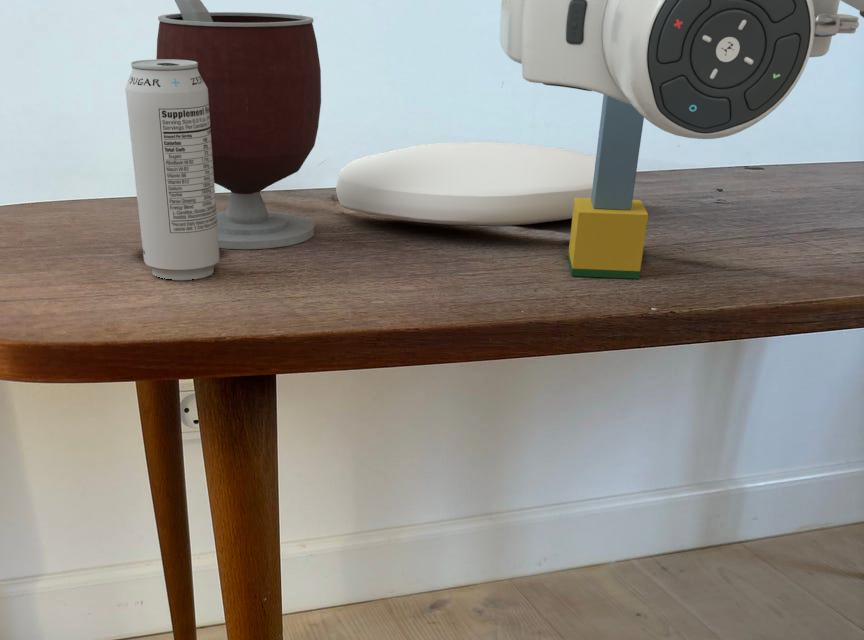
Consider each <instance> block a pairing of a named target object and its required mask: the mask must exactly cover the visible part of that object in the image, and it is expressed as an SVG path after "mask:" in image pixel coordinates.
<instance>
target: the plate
mask: <svg viewBox="0 0 864 640" xmlns="http://www.w3.org/2000/svg"><path fill="white" fill-rule="evenodd" d="M595 162H596V155H592V154H588V153H584V152H579V151H575V150H574V151H573V150H569V149H565V148H560V147H552V146H544V145H535V144H528V143H516V142H500V141H499V142H497V141H471V142H469V141H468V142H460V141H459V142H438V143H428V144H420V145H413V146H409V147H408V146H407V147H404V148H403V147H402V148H399V149H394V150H389V151H384V152H379V153H373V154H370V155H366V156H362V157H359V158H357V159H354V160H352V161H349V162H348V163H347V164H346V165H345V166H343V167H342V168H341V169H340V170H339V174H338V178H337V181H336V185H335V192H336V197H337V200H338V202H339V205H340V206H341V207H342V208H344V209H346V210H349V211H353V212H356V213H361V214H364V215H370V216H375V217H379V218H387V219H394V220H402V221H410V222H418V223H425V224H426V223H427V224H435V225H436V224H437V225H449V226H463V227H465V226H466V227H468V226H469V227H471V226H472V227H513V226H526V225H527V226H528V225H536V224H537V225H538V224H543V223H550V222H557V221H562V220H572V217H573V208H574V199H575V198H591V196H592V187H593V179H594V170H595Z"/></svg>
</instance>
